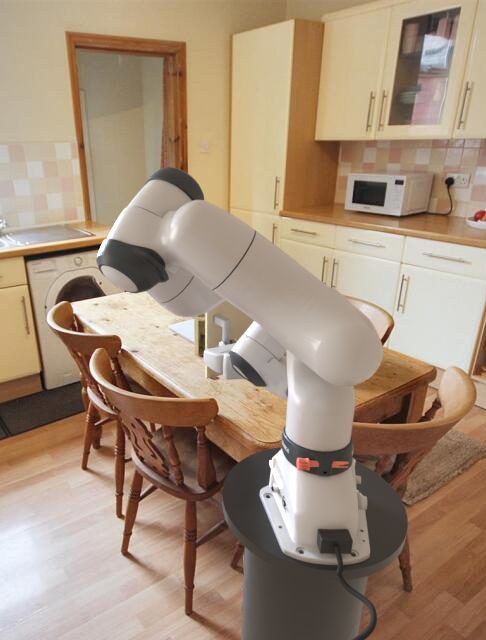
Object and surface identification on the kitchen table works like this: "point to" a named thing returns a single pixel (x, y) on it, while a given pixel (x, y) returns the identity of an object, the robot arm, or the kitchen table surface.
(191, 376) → the kitchen table surface
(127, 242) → the robot arm
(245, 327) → the door
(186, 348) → the kitchen table surface
